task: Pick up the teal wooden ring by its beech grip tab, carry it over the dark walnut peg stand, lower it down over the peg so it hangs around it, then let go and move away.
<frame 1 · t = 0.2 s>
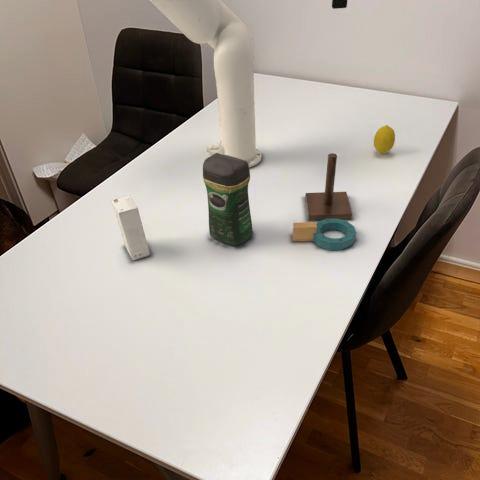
hand: (336, 2, 106), 37 cm above the table, tool pointing down, fingers open, 9 cm apart
cosmetic box: (137, 251, 105), on the table
lemon: (381, 154, 132), on the table
peg stand: (327, 208, 113), on the table
coffee jar: (231, 236, 108), on the table
ring: (333, 237, 105), on the table
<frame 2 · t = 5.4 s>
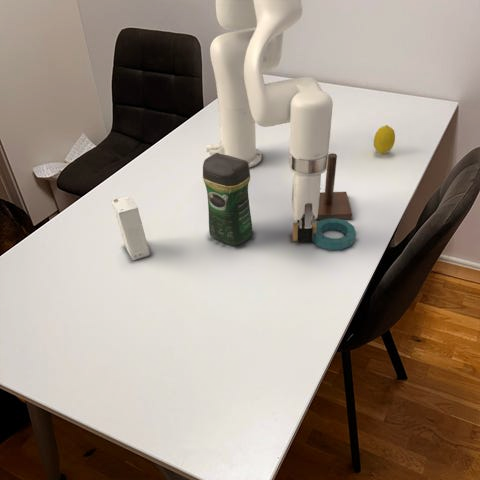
hand: (304, 237, 105), 0 cm above the table, tool pointing down, fingers closed on ring, 2 cm apart
ring: (333, 237, 105), on the table, touching gripper
everything else where it was.
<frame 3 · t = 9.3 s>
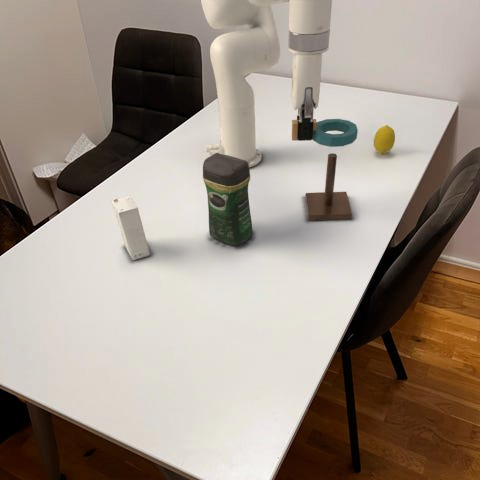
hand: (304, 136, 100), 18 cm above the table, tool pointing down, fingers closed on ring
ring: (334, 137, 100), point 18 cm above the table, touching gripper
everything else where it was.
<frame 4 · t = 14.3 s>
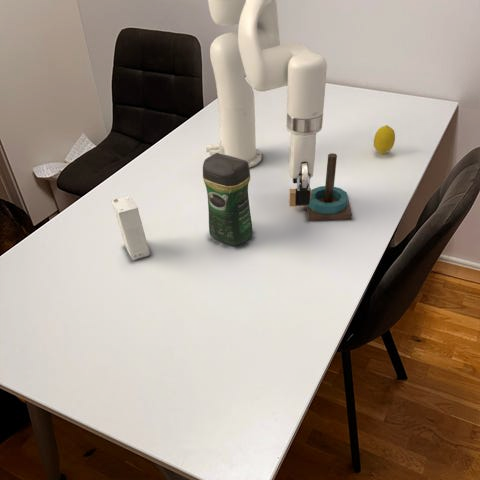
hand: (300, 193, 111), 4 cm above the table, tool pointing down, fingers open, 9 cm apart
ring: (327, 203, 112), point 1 cm above the table, touching peg stand
everything else where it was.
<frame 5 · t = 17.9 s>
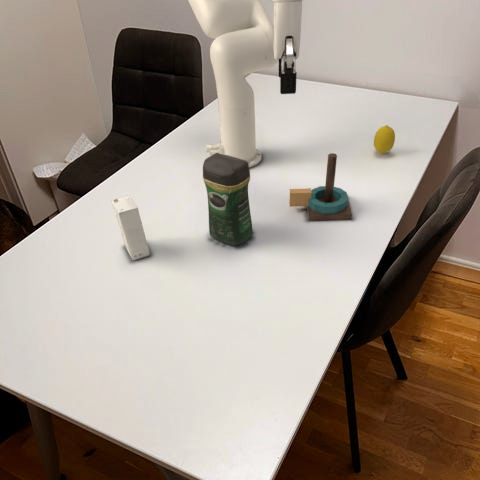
hand: (286, 84, 100), 26 cm above the table, tool pointing down, fingers open, 9 cm apart
nothing on the table moved.
at the end: ring 0.2 cm from the peg stand (horizontally); ring point 1.5 cm above the table; the gripper is holding nothing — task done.
